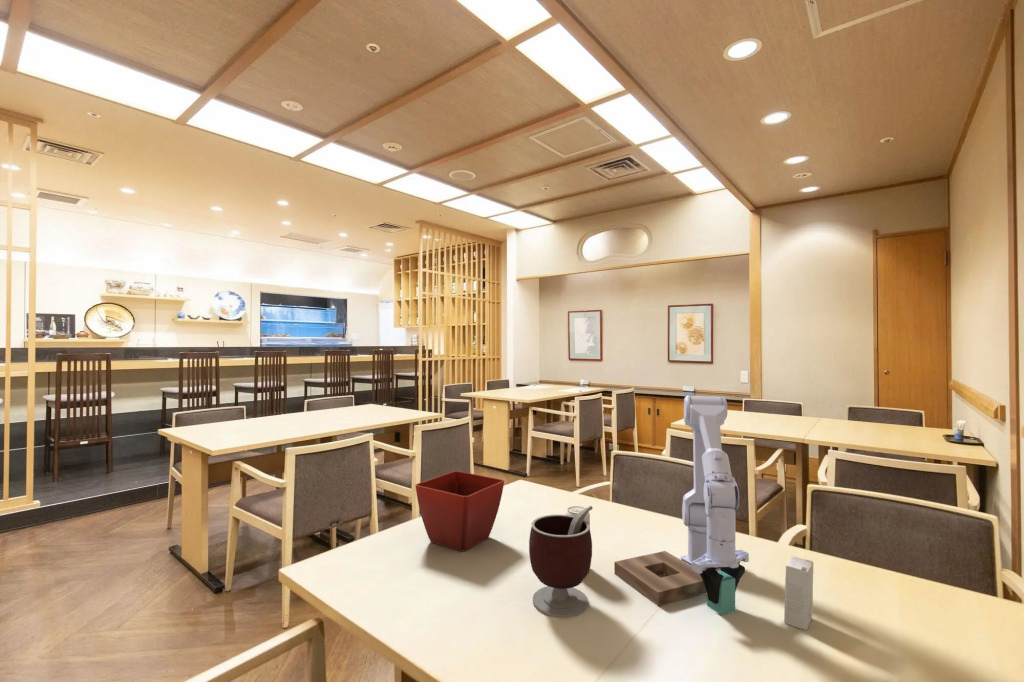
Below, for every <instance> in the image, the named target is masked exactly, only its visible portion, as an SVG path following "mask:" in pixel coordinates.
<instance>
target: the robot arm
mask: <svg viewBox="0 0 1024 682" xmlns="http://www.w3.org/2000/svg"><path fill="white" fill-rule="evenodd" d="M727 417H728V402H727V398H725V397H724V396H723V395H720V396H706V395H705V396H702V395H700V396H699V395H688V394H687V395H686V396H685V397H684V399H683V422H684V425H685V426H687V427H689V428H691V431H692V440H693V441H692V447H693V448H692V451H693V452H692V453H693V454H692V455H693V456H692V457H693V458H692V459H693V461H692V462H693V488H692V489H691V490H689V491H688V492H686V493H685V494H684V495H683V496H682V505H681V517H682V522H683V525H684V526H685V527H688V528H687V537H688V538H687V542H688V543H687V550H688V551H687V554H686V555H683V556H680V560H682V561H684V562H685V563H687V564H689V565H691V566H692V570H693V571H695V572H697V573H698V574H700V575H701V577H702V580H703V582H704V585H705V588H706V592H707V593H706V597H707V596H708V600H709V601H711V602H713V603H714V604H718V601H719V590H720V585H721V581H722V579H723V577H724V576H723V575H721V574H719V573H718V572H717V571H718V570H717V568H719V570H721V571H723V572H725V573H726V574H728V575H730V576H732V577H734V578H735V593H736V592H737V587H738V586H739V583H740V580H741V579H742V577H743V575H744V574H745V573H746V567H745V566H744V565H742V564H741V563H742V562H744V563H748V562H750V560H749V559H750V557H749V556H750V555H749V552H747V551H745V550H744V549H737V550H736V510H738V509H739V505H740V491H739V487H738V484H737V481H736V480H735V477H734V476H733V474H732V470H731V469H732V468H731V464H730V459H729V455H728V454H727V452H725V451H723V448H722V447H723V446H722V436H721V435H722V434H721V427H722V426H723V425H724V424H725V421H726V419H727ZM740 562H741V563H740Z"/></svg>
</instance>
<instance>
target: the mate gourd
mask: <svg viewBox="0 0 1024 682" xmlns="http://www.w3.org/2000/svg"><path fill="white" fill-rule="evenodd" d="M585 508H586V509H584V510H582V511H581V512H579V513H578V514H577V515H576V516H575V517H574V516H569V515H566V514H548V515H543V516H539V517H537V518H535V519H534V520H533V521H532V522H531V527H530V532H529V540H528V553H529V560H530V562H529V563H530V566H531V570H532V572H533V574H534V575H535V576H536V577H537V579H538V580H539V581H540V583H542V585H545V586H544V587H541V588H540V589H537V590H536V591H535V592H534V593H533V596H532V605H533V607H534V608H535V609H536V610H537V611H538V612H540V613H541V614H543V615H546V616H548V617H552V618H557V619H569V618H575V617H577V616H580V615H582V614H583V613H585V612H586V611H587V610H588V608H589V598H588V597H587V595H586V594H585V593H584V592H582V591H581V590H580V589H578V588H576V587H578V586H579V585H581V583H583V581H584V580H585V579H586V577H587V576H588V575H589V572H590V569H591V565H592V564H591V563H592V557H593V541H592V533H591V528H590V527H591V526H589V524H588V523H587V522H586V521H585V520H584V518H585V516H586V515H587V513H588V512H589V513H590V511H592V510H593V506H592V505H589V506H588V507H585ZM589 528H590V529H589Z"/></svg>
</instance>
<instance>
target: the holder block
mask: <svg viewBox="0 0 1024 682" xmlns="http://www.w3.org/2000/svg"><path fill="white" fill-rule="evenodd" d="M613 569H614V571H613V572H614V575H616V576H617V577H618V578H619V579H621V580H622V581H623V582H625V584H627V585H629V586H630V587H631V588H633V589H634V590H636V591H637V592H638V593H640V594H641V595H642V596H644V597H645V598H646V599H648V600H649V601H650V602H652V603H653V604H655V605H656V607H660V606H664V605H668V604H671V603H675V602H679V601H682V600H686V599H689V598H692V597H693V598H694V597H696V596H697V597H698V596H699V595H700V596H701V595H704V594H707V592H706V588H705V585H704V582H703V580H702V577H701V575H700V574H698V573H697V572H695V571H693V570H692V565H691V564H689V563H688V562H686V561H684V560H682V559H681V558H679V557H677V556H675V555H673V554H671V553H670V552H668V551H666V550H663V551H659V552H658V551H657V552H654V553H650V554H645V555H640V556H633V557H631V558H626V559H621V560H617V561H614V568H613ZM660 576H663V577H660Z"/></svg>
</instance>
